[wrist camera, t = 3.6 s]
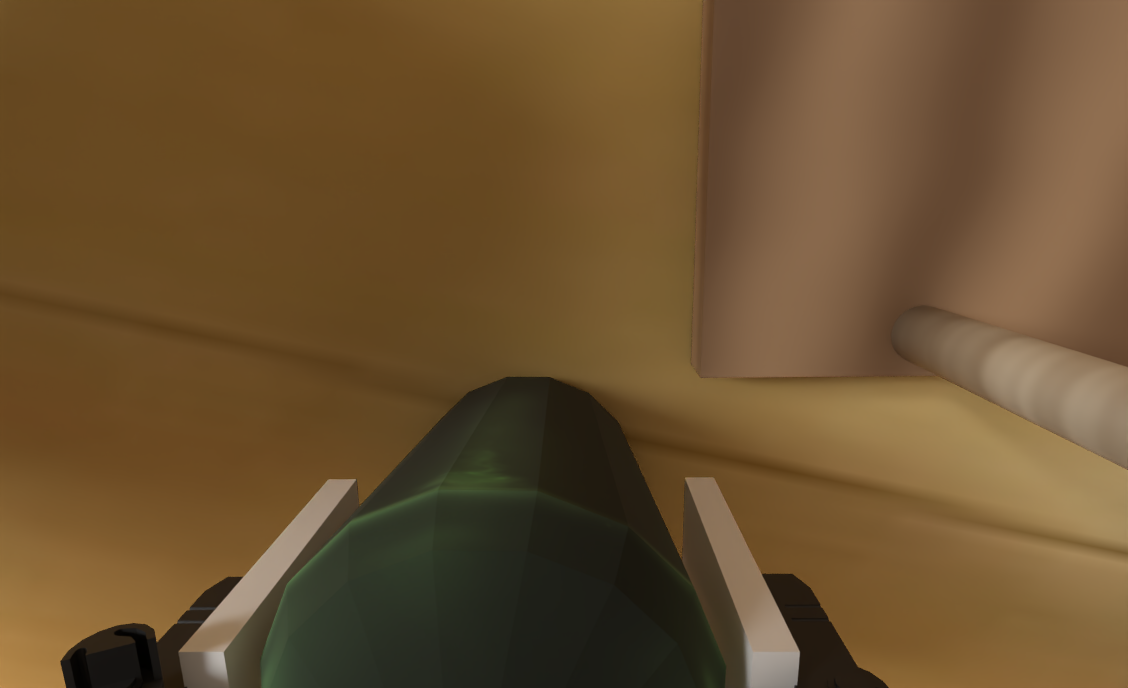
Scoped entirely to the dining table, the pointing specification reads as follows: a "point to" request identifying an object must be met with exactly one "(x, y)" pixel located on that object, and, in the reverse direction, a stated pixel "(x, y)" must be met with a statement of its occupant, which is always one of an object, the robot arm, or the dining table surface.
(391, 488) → the potion bottle
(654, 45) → the dining table surface
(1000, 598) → the dining table surface
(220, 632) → the robot arm
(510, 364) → the dining table surface
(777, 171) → the rack
